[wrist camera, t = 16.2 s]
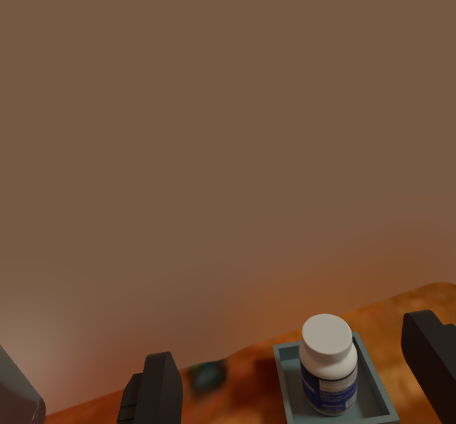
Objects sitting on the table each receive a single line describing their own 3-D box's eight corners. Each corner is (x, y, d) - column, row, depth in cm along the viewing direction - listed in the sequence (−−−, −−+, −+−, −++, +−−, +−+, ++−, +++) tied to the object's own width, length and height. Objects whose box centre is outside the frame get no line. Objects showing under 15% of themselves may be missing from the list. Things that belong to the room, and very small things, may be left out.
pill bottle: (298, 371, 40) (291, 313, 35) (346, 365, 40) (346, 305, 35) (310, 422, 35) (303, 362, 30) (365, 414, 35) (368, 353, 30)
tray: (292, 452, 33) (290, 436, 32) (275, 360, 42) (272, 345, 41) (397, 436, 33) (399, 420, 31) (357, 347, 42) (357, 331, 40)
